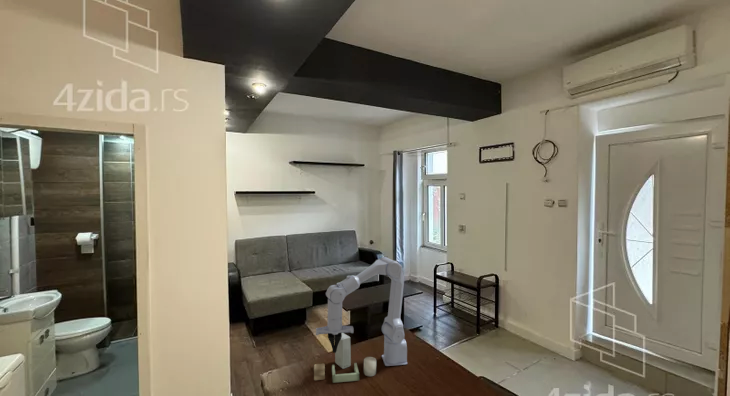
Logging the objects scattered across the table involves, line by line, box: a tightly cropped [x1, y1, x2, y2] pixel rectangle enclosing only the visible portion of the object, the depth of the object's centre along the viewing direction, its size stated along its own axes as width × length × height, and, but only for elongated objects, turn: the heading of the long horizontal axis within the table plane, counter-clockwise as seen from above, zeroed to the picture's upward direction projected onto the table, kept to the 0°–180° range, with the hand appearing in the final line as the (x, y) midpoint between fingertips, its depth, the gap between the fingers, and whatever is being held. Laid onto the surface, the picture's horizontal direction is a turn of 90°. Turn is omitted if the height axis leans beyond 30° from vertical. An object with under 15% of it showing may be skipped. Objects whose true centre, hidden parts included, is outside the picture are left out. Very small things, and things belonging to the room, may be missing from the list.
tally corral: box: [331, 362, 360, 384], centre depth 118 cm, size 10×8×2 cm
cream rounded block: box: [363, 356, 377, 377], centre depth 120 cm, size 5×5×5 cm
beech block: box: [313, 363, 326, 381], centre depth 117 cm, size 4×4×4 cm
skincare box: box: [334, 333, 352, 370], centre depth 126 cm, size 6×4×12 cm
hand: (334, 351), depth 118 cm, fingers closed
